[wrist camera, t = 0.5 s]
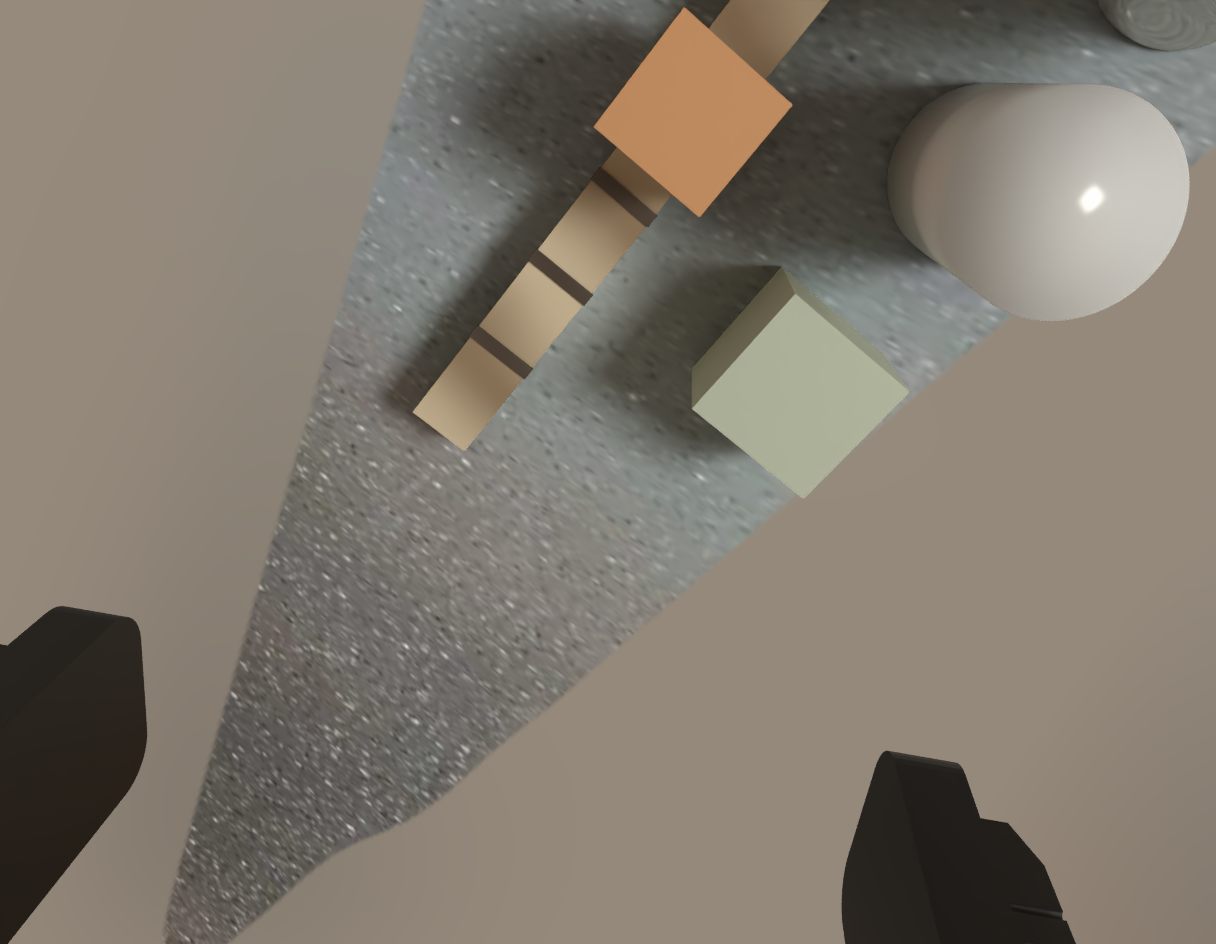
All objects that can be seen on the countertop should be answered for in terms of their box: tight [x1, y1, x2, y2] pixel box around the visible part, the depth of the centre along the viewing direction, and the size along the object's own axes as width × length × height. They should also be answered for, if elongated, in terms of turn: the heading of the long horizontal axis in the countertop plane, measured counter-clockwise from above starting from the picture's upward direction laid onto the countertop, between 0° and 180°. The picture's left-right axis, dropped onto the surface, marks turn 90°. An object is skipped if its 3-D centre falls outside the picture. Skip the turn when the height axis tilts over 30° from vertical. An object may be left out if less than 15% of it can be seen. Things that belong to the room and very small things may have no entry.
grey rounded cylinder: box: [887, 83, 1189, 321], centre depth 30 cm, size 6×6×9 cm
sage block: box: [692, 267, 910, 499], centre depth 35 cm, size 5×5×5 cm
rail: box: [413, 0, 830, 451], centre depth 34 cm, size 22×2×2 cm, turn 141°
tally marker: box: [594, 7, 792, 217], centre depth 30 cm, size 4×4×4 cm
